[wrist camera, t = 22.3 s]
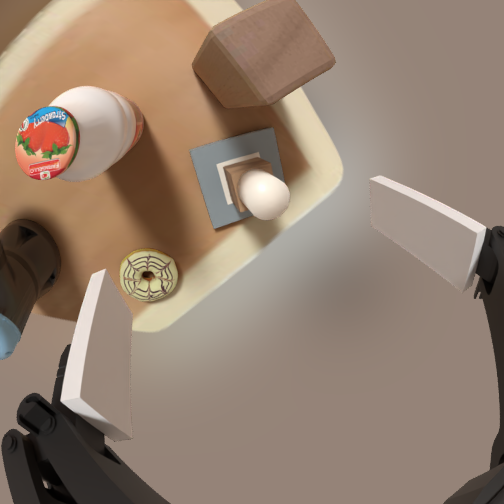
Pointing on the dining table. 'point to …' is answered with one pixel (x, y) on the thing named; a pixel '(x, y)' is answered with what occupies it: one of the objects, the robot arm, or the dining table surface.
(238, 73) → the wooden block
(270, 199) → the marshmallow
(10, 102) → the dining table surface
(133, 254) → the decorated donut
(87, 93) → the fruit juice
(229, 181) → the walnut cube
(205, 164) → the slate board
